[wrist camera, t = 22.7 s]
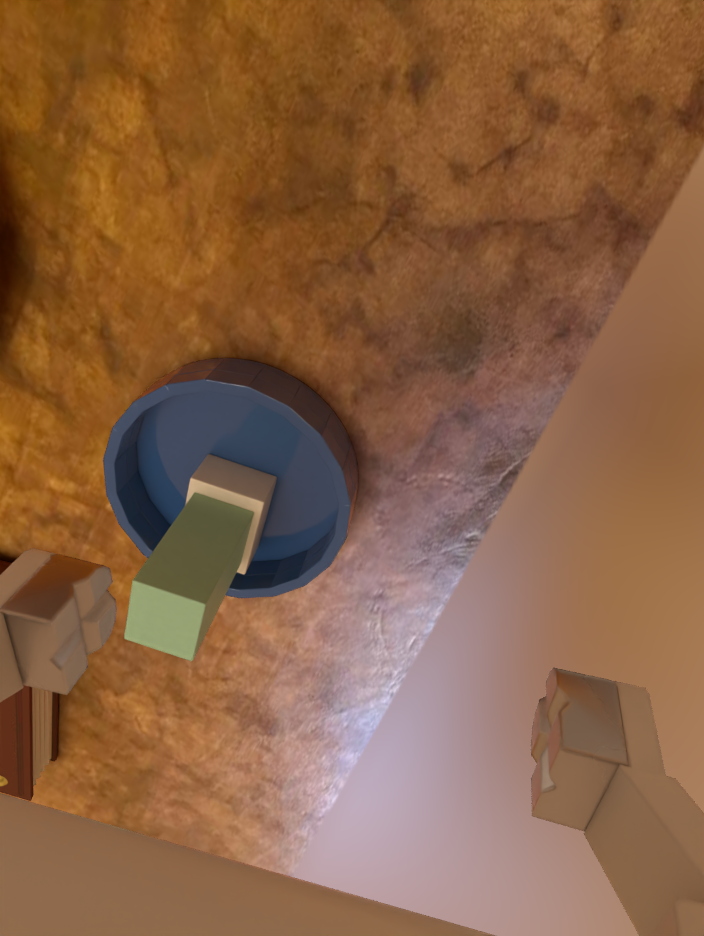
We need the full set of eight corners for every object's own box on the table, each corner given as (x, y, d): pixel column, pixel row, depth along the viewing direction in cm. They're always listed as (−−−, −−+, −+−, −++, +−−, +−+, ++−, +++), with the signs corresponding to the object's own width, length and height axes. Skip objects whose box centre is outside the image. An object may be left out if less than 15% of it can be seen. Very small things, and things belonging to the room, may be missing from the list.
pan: (373, 380, 36) (364, 406, 33) (344, 581, 44) (335, 617, 40) (124, 338, 37) (93, 359, 34) (136, 541, 45) (112, 573, 42)
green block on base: (277, 476, 40) (217, 595, 30) (258, 546, 42) (197, 675, 33) (208, 453, 40) (125, 564, 30) (193, 524, 42) (114, 647, 33)
